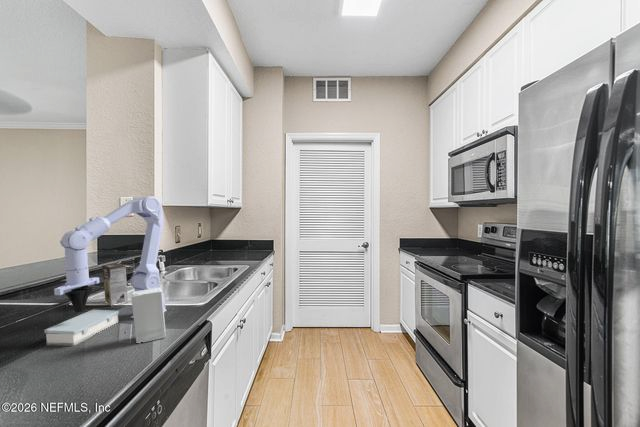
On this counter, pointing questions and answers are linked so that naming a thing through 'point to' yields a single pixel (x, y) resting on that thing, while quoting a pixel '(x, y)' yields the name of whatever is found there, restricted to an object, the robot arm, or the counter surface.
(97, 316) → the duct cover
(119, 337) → the counter surface
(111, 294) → the coffee box
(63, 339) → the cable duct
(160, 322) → the skincare box
